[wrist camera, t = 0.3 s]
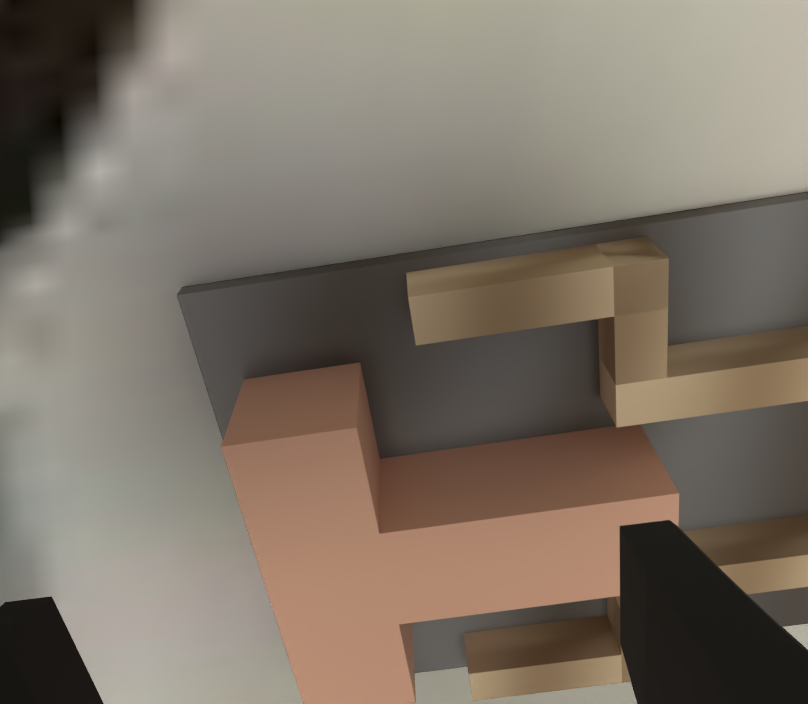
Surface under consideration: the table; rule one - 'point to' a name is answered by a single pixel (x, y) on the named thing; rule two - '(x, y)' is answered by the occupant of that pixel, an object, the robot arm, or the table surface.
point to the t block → (419, 526)
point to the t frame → (568, 389)
